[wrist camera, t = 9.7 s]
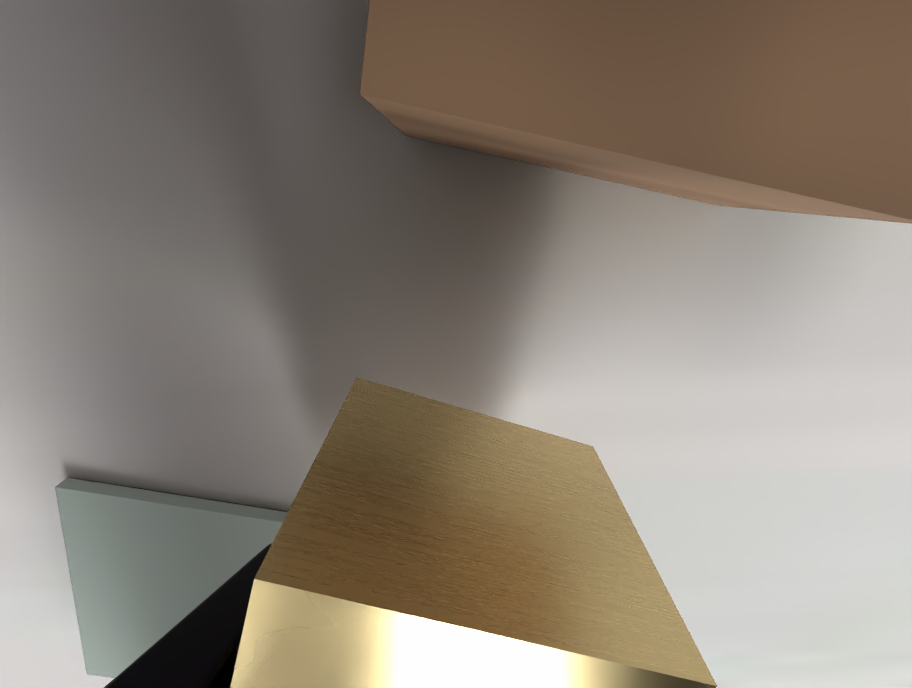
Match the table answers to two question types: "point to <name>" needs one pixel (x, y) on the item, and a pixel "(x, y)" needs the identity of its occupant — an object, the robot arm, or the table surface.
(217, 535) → the glass plate
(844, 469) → the table surface
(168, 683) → the robot arm
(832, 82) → the plane block
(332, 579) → the brass block
